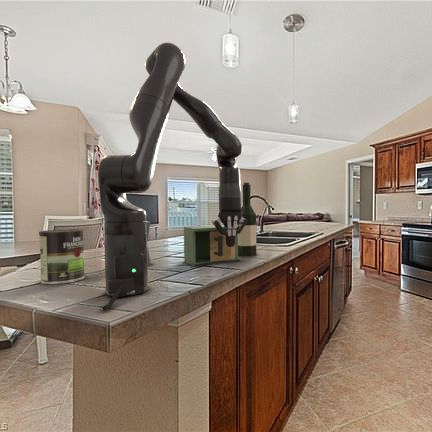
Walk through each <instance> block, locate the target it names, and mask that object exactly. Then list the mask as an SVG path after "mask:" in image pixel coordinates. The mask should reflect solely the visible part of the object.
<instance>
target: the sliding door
mask: <svg viewBox="0 0 432 432" xmlns="http://www.w3.org/2000/svg"><path fill="white" fill-rule="evenodd" d="M222 260H231V247H228V246H227V245H226V236H225V235H223V234H221V233H220V232H219V231H213V232H210V262H213V261H222Z"/></svg>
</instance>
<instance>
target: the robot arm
mask: <svg viewBox="0 0 432 432" xmlns="http://www.w3.org/2000/svg"><path fill="white" fill-rule="evenodd" d="M144 67H145V70H146V72H147V74H148V77H147V79H145V81H144V82H143V84H142V85H141V87H140V88H139V90H138V91H137V93H136V95H135V97H134V99H133V102H132V104H131V107H130V110H129V115H128V116H129V123H130V126H131V127H132V129H133V132H134V133H135V136H136V138H137V139H138V141H137V146H136V149H135V151H134V152H133V154H110V155H106V156H103V157H102V158H101V160H100V162H99V164H98V169H97V182H98V183H97V184H98V193H99V205H100V210H101V213H102V215H103V239H104V241H103V243H104V273H105V274H104V276H105V288H104V289H105V290H104V292H105V295H106V296H108V297H111V298H110V300H109V301H108V302H107V303H106V304H105V305H103V306H102V311H107V310H109V309H110V308H111V307H112V306H113V304H115V302H116V300H117V299H118V298H123V297H129V296H135V295H143V294H145V293H146V292H147V291H148V290H149V280H148V279H149V277H148V273H149V272H148V266H147V246H148V241H147V228H146V221H147V212H146V210H145V209H144V208H141V207H138V206H136V205H134V204H132V203H131V202H129V201H128V198H127V195H126V194H142V193H146V192H147V191H148V190H149V189H150V188H151V186H152V183H153V180H154V174H155V171H156V166H157V165H156V164H157V159H158V153H159V148H160V144H161V141H162V137H163V134H164V131H165V128H166V124H167V122H168V119H169V115H170V111H171V107H172V104H173V101H174V102H175V103H176V104H177V105H178V106H179V107H181V108H182V109H183V110H184V112H186V113H187V114H188V116H189V117H190V118H191V119H192V120H193V121H194V122H195V124H196V125H197V127H198V128H199V129H200V130H201V131H202V133H203V134H204V135H205V137H207V138H208V139H212V140H213V141H214V142H215V143H216V151H215V152H216V161H217V166H218V170H219V171H218V180H219V181H218V182H219V185H218V214H217V218H216V219H213V220H212V221H211V223H212V225H214V226H215V227H216V228H217V230H218V231H219V232H220V233H221V234H223V235H225V236H226V245H227V246H228V247H234V245H235V235H237V234H240V232H241V231H242V229H243V228H244V227H245V225H246V224H247V222H248V220H247V219H244V218H243V217H242V214H241V207H242V189H241V172H240V168H239V167H238V166H237V161H236V158H238V157H239V156H241V155H242V152H243V145H242V142H241V140H240V139H239V138H238V136H237V135H236V134H235V133H234V132H233V131H232V130H231V129H229V128H228V127H227V126H226V125H225V124H224V123H223V122H222V120H221V118H219V116H218V114H217V113H216V112H215V111H214V110H213V109H212V107H211V106H210V105H208V103H206V102H205V101H203V100H202V99H199V98H198V97H195V96H194V95H193V94H190V92H188V91H187V90H185V89H184V88H183V87H182V86H181V85H180V84H179V81H180V78H182V77H181V76H182V75H183V73H184V71H185V69H186V58H185V55H184V53H183V51H182V50H181V48H180V47H179V46H177V45H176V44H174V43H172V42H162V43H160V44H158V45H157V46H156V47H155V49H154V50H153V51H152V52H151V54H149V56H147V58H146V59H145V62H144ZM239 221H240V223H239V225H238V226H237V224H238V222H239ZM221 225H224V229H225V230H224V229H223V227H222V226H221Z"/></svg>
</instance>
